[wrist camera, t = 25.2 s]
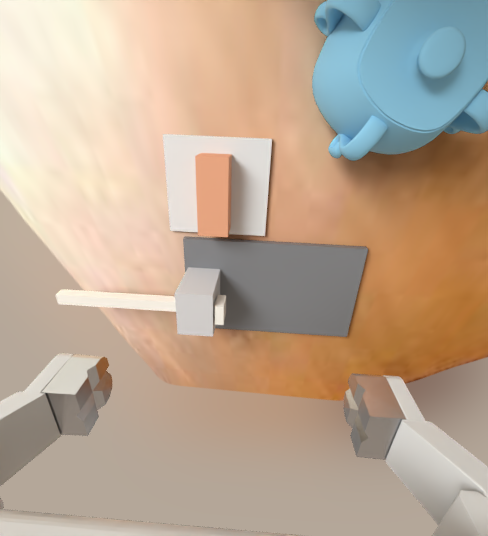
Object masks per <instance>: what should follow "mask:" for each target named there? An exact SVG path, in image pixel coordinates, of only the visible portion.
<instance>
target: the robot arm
mask: <svg viewBox="0 0 488 536" xmlns="http://www.w3.org/2000/svg"><path fill="white" fill-rule="evenodd" d="M108 366H109V364H108V360H107V358H105V357H100V356H90V355H79V354H65V353H60V354H59V355H56V356H55V357H54V358H53V360H52V361H51V362H50V363H49V364H48V365H47V366H46V367H45V368H44V370H43V371H42V372H41V373H40V374H39V375H38V376H37V377H36V378H35V380H34V381H33V382H32V383H31V384H30V385H29V386H28V388H27V389H26V390H25V391H24V392H17V393H15V394H13V395H11V396H10V397H8V398H6V399H4V400H2V401H0V486H1V485H2V484H4V483H5V482H6V481H7V480H8V479H10V478H11V477H12V476H13V475H15V474H16V473H17V472H18V471H19V470H21V469H22V468H23V467H24V466H25V465H26V464H28V463H29V462H30V461H31V460H33V459H34V458H35V457H36V456H37V455H39V454H40V453H41V452H42V451H44V450H45V449H46V448H47V447H48V446H50V445H51V444H52V443H53V442H54V441H56V440H57V439H58V438H59V437H60V436H61V435H82V436H88V435H89V433H90V431H91V429H92V428H93V426H94V424H95V422H96V420H97V419H98V411H97V410H98V409H100V408H101V407H102V406H104V405H105V404H106V402H107V401H108V399H109V397H110V393H111V390H112V377H111V375H110V374H109V373H108V372H107V371H106V370H107V368H108ZM348 384H349V387H350V389H349V390H347V391H346V392H345V396H344V412H345V413H344V414H345V417H346V421H347V423H348V424H349V425H350V426H351V427H352V428H353V429H352V432H351V439H352V443H353V446H354V449H355V453H356V456H357V457H364V458H373V459H383V460H385V462H386V463H387V464H388V466H389V467H390V468H391V469H392V470H393V471H394V473H395V474H396V475H397V476H398V478H399V479H400V480H401V481H402V482H403V484H404V485H405V486H406V487H407V488H408V490H409V491H410V492H411V493H412V494H413V496H414V497H415V498H416V499H417V500H418V501H419V503H420V504H421V505H422V506H423V507H424V509H425V510H426V511H427V512H428V513H429V515H430V516H431V517H432V518H433V520H434V521H435V522H436V523H437V524H438V527H437V529H436V531H435V532H434V533H433V535H432V536H488V467H487V466H486V465H485V464H484V463H482V462H481V461H480V460H479V459H477V458H476V457H475V456H474V455H472V454H471V453H470V452H469V451H467V450H466V449H465V448H463V447H462V446H461V445H460V444H458V443H457V442H456V441H454V440H453V439H452V438H451V437H450V436H448V435H447V434H446V433H444V432H443V431H442V430H441V429H439V428H438V427H437V426H436V425H434V424H433V423H432V422H428V421H425V419H424V417H423V415H422V413H421V412H420V410H419V408H418V406H417V405H416V403H415V401H414V399H413V397H412V396H411V394H410V392H409V390H408V389H407V387H406V385H405V383H404V381H403V380H402V378H400V377H399V376H384V375H383V376H381V375H367V374H351V375H350V377H349V380H348ZM60 434H61V435H60ZM3 508H4V507H3V501H2V500H1V498H0V536H303V535H291V534H280V533H268V532H257V531H246V530H235V529H223V528H212V527H200V526H188V525H177V524H166V523H153V522H143V521H131V520H119V519H108V518H97V517H85V516H73V515H62V514H51V513H39V512H27V511H16V510H5V509H3Z"/></svg>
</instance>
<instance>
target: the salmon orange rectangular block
mask: <svg viewBox="0 0 488 536" xmlns="http://www.w3.org/2000/svg"><path fill="white" fill-rule="evenodd" d="M195 166H196V196H197V225H198V236H214V237H228V235H229V231H230V228H231V178H232V154H215V153H200V154H198V155H196V156H195Z"/></svg>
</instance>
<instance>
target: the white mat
mask: <svg viewBox="0 0 488 536" xmlns="http://www.w3.org/2000/svg"><path fill="white" fill-rule="evenodd" d="M163 143H164V156H165V169H166V182H167V195H168V208H169V221H170V231H183V232H198V225H197V196H196V166H195V156H196V155H198V154H200V153H215V154H232V178H231V228H230V231H229V234H237V235H255V236H265V229H266V215H267V202H268V188H269V175H270V161H271V148H272V139H263V138H241V137H218V136H196V135H173V134H163Z"/></svg>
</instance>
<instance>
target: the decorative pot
mask: <svg viewBox="0 0 488 536" xmlns="http://www.w3.org/2000/svg"><path fill="white" fill-rule="evenodd" d="M314 21H315V23H316V25H317V27H318V28H319V30H320V31H321V32H322V33H323V34H324V35H326V36H328V37H327V39H326V41H325V43H324V45H323V48H322V50H321V52H320V54H319V57H318V60H317V62H316V65H315V68H314V73H313V80H312V88H313V95H314V98H315V101H316V104H317V106H318V108H319V110H320V112H321V114H322V115H323V117H324V118H325V120H326V121H327V122H328V124H329V125H330V126H331V127H332V128H333V130H334V131H335V132H336V133H337V134H338V135H337V136H336V137H335V138H334V139H333V141H332V142H331V144H330V146H329V149H328V150H329V153H330V154H331V156H332V157H334V158H340V157H341V155H343V156H344V157H345V158H347V159H349V160H352V161H355V160H358V159H360V158H362V157H363V156H365V155H366V154H367V153H368V152H369V151H371V152H375V153H381V154H388V155H391V154H402V153H406V152H410V151H413V150H415V149H418V148H420V147H422V146H424V145H426V144H427V143H429V142H430V141H432V140H433V139H435V138H436V137H437V136H438V135H439V134H440V133H441V132H443V131H444V132H446V133H449V134H455V133H457V132H459V131H465V132H469V133H474V134H481V133H484V132H486V131H488V92H487V91H485V90H484V89H482V88H483V86H484V85H485V83H486V82H487V81H488V0H327V1H325V2H323V3H322V4H321V5H320V6H319V7H318V8H317V10H316V13H315V16H314Z"/></svg>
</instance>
